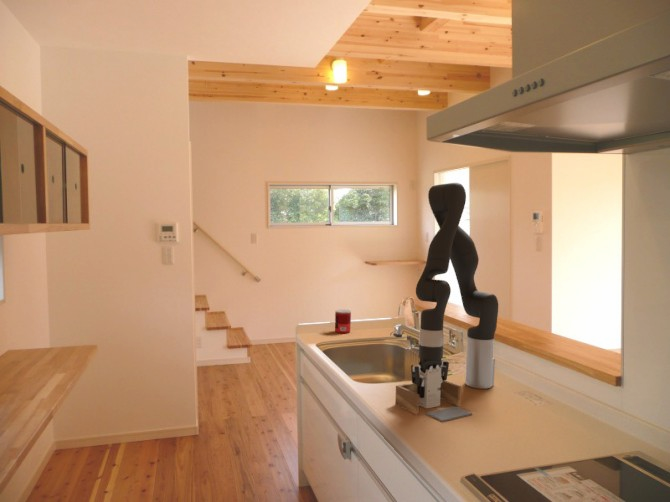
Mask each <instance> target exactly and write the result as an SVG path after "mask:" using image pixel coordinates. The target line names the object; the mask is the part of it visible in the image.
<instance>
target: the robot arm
mask: <svg viewBox="0 0 670 502" xmlns="http://www.w3.org/2000/svg"><path fill="white" fill-rule="evenodd" d="M466 193H467V191H466V189H465V187H464V185H463V184H461V183H459V182H449V183H442V184H435V185H433V186H431V187H430V188H429V190H428V195H427V197H428V204H429V206H430V207H429V208H430V210H431V212H432V214H433V216H434V219H435V220H436V223H437V225H438V227H439V229H438V231H437V232H436V234H435V235H434V236H433V237H432V239H431V242H430V243H429V247H428V250H427V251H428V252H427V256H426V257H427V258H426V263H425V266H424V268H423V271H422V273H421V275H420V278H419V279H418V281H417V283H416V285H415V295H416V298H417V299H418V300H420V301H422V302H429V303H436V305H435V307H434V308H426V309H423V310H422V311H421V313H420V327H419V333H418V334H419V336H418V358H419V362H418V363H417V364H416V365H414V364H412V365H410V372H411V374H410V375H411V383H414V384H416V385H417V394H419V397H420V398H424V392H425V386H424V385H425V380H426V379H427V373H426V374H425V376H422V375H421V371H422V372H423V373H425V372H426V370H431V371H432V369H433V368H435V369H437V370H438V369H440V368H441V383H442V382H443V381H444V380H445V381H447V380H448V373H449V366H450V362H449V361H446V360H444V359H443V358H444V337H445V336H444V318H445V317H444V316H445V312H446V308H447V305H448V302H449V299H450V297H451V292H452V290H451V289H452V288H451V286H450V284H449V282H448V281H446V280H444V279H434V277H436V276H438V275H439V276H440V275H444V274H446V273H447V272H448V270H449V266H450V262H451V265H452V268H453V271H454V275H455V278H456V281H457V284H458V289H459V293H460V297H461V302H462V307H463V309H464V311H465V313H466V314H467V315H468V316H470V317H473V318H476V319H477V318H478V325H476V326H471V327H468V328H467V330H466V331H467V334H466V335H467V336H466V354H465V355H466V359H465V377H464V378H465V382H464V383H465V385H466V386H468V387H470V388H474V389H481V390H482V389H490V388H492V387H493V386H494V385H495V368H496V367H495V366H496V359H495V358H494V351H495V350H494V348H495V347H494V345H495V343H494V342H495V334H496V330H497V324H498V316H499V315H498V314H499V299H498V297H497V296H496V295H495V294H493V293H489V292H484V291H479V290H478V289H477V286H476V283H475V274H476V271H477V269H478V266H479V260H480V259H479V254H478V250H477V247H476V244H475V242H474V240H473V238H472V237H471V236H470V235H469V234H468V233H467V232H466V231H465V230H464V229H463V228H462V227H461V226H459V224H460V222H461V219H462V216H463V212H464V209H465V206H466V205H465V204H466V200H467V194H466ZM442 359H443V360H442ZM439 367H440V368H439ZM420 370H421V371H420ZM421 378H423V379H422V382H421Z"/></svg>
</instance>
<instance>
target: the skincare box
mask: <svg viewBox="0 0 670 502" xmlns="http://www.w3.org/2000/svg"><path fill="white" fill-rule="evenodd" d="M439 368H440V367H439ZM420 371H421V370H420ZM426 373H427V379H426V380H425V385H424V386H425V392H424V398H420V397H419V407H422V408H423V409H426V410H427V409H431V408H435V407H436V408H437V407H440V406H441V398H440V393H441V368H440V369H438V370H437V369H435V368H433V369H432V371H431V370H426V372H425V373H423V372H422V371H421V375H422V376H425V374H426ZM422 379H423V378H421V382H422Z"/></svg>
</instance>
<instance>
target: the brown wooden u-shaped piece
mask: <svg viewBox="0 0 670 502" xmlns="http://www.w3.org/2000/svg"><path fill="white" fill-rule="evenodd" d="M461 388H462V386H460V385H457V384H456V383H453V382H450V381H447V380H444V381H443V382H442V383H441V393H440V400H441V399H442V400H443V401H446V402H449V403H451V404H453V405H454V406H461V392H462V391H461ZM394 403H395V406H398V407H399V408H401V409H404V410H406V411H407V412H410V413H411V414H414V415H416V416H417V415H419V412H420V411H419V410H420V406H419V394H417V385H416V384H414V383H412V382H409V383H403V384H398V385H396V386H395V401H394Z"/></svg>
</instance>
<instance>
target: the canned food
mask: <svg viewBox="0 0 670 502" xmlns="http://www.w3.org/2000/svg"><path fill="white" fill-rule="evenodd" d="M351 311H352V310H350V309H336V310H335V312H334V313H335V314H334V316H335V317H334V318H335V319H334V331H335V333H337V334H340V335H341V334H342V335H345V334H350V333H351V323H352V321H351V320H352V312H351Z"/></svg>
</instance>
